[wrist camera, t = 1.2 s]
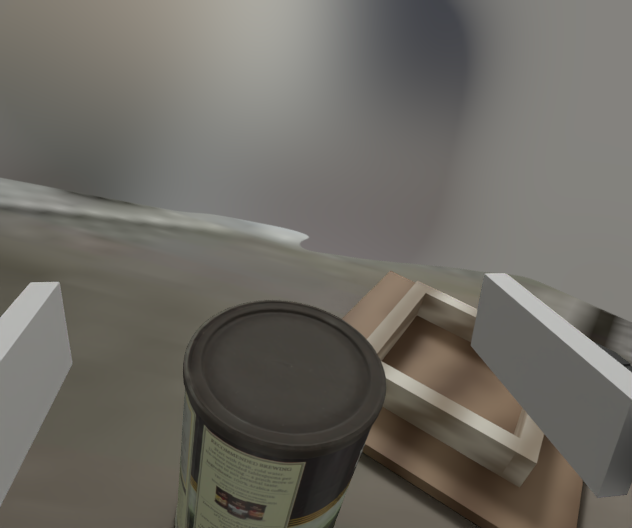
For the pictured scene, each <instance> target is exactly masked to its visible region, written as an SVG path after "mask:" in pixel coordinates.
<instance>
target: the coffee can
mask: <svg viewBox="0 0 632 528" xmlns="http://www.w3.org/2000/svg"><path fill="white" fill-rule="evenodd" d="M183 378H184V385H185V396H184V411H183V428H182V445H181V457H180V475H179V490H178V504H177V509H176V516H175V528H333V527H334V524H335V521H336V518H337V516H338V513H339V510H340V508H341V505H342V502H343V500H344V497H345V494H346V492H347V489H348V486H349V484H350V481H351V478H352V476H353V473H354V471H355V468H356V466H357V463H358V461H359V458H360V456H361V453H362V451H363V448H364V445H365V442H366V440H367V437H368V435H369V432H370V429H371V427H372V425H373V424H374V422H375V421H376V419H377V417H378V415H379V413H380V411H381V409H382V406H383V404H384V400H385V396H386V376H385V371H384V368H383V365H382V363H381V360H380V358H379V357H378V355H377V353H376V351H375V349H374V348H373V346H372V345H371V344H370V343H369V341H368V340H367V339H366V338H365V337H364V336H363V335H362V334H361V333H360V332H359V331H357V330H356V329H355V328H354V327H352V326H351V325H350V324H348V323H347V322H345V321H344V320H342V319H340V318H339V317H337V316H335V315H333V314H331V313H329V312H326V311H324V310H321V309H319V308H316V307H313V306H310V305H306V304H302V303H297V302H288V301H281V300H264V301H254V302H248V303H243V304H239V305H236V306H233V307H230V308H227V309H225V310H223V311H221V312H219V313H217V314H216V315H214V316H212V317H211V318H209V319H208V320H207V321H206V322H205V323H203V324H202V325H201V326H200V327H199V328H198V330H197V331H196V332H195V333H194V335H193V336H192V338H191V340H190V342H189V344H188V346H187V348H186V352H185V356H184V363H183Z"/></svg>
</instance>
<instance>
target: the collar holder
mask: <svg viewBox="0 0 632 528" xmlns="http://www.w3.org/2000/svg"><path fill="white" fill-rule="evenodd" d="M477 310H478V309H476V308H474V307H472V306H470V305H467V304H465V303H463V302H461V301H459V300H457V299H455V298H453V297H451V296H449V295H447V294H444V293H442V292H440V291H438V290H436V289H434V288H432V287H430V286H428V285H426V284H424V283H421V282H419V281H417V282H416V283H415V282H413V281H411V280H409V279H407V278H405V277H403V276H400V275H398V274H396V273H394V272H392V271H390V272H389V273H388V274H387V275H386V276H385V277H384V278H382V279H381V280H380V281H379V282H378V283H377V284H376V285H375V286H374V287H373V288H372V289H371V290H370V291H369V292H368V293H367V294H366V295H365V296H364V297H363V298H362V299H361V300H360V301H359V302H358V303H357V304H356V305H355V306H354V307H353V308H352V309H351V310H350V311H349V312H348V313H347V314H346V315H345V316H344V317H343V318H342V320H344V321H345V322H347V323H348V324H350V325H351V326H352V327H354V328H355V329H356V330H357V331H359V332H360V333H361V334H362V335H363V336H364V337H365V338H366V339H367V340H368V341H369V343H370V344H371V345H372V346H373V348H374V349H375V351H376V353H377V355H378V357H379V358H380V360H381V363H382V365H383V368H384V371H385V376H386V396H385V400H384V404H383V406H382V409H381V411H380V413H379V415H378V417H377V419H376V421H375V422H374V424H373V425H372V427H371V429H370V432H369V435H368V437H367V440H366V442H365V445H364V448H363V451H362V452H363V453H365V454H366V455H368V456H369V457H371V458H372V459H374V460H376V461H377V462H379V463H380V464H382V465H383V466H385V467H387V468H388V469H390V470H391V471H393V472H394V473H396V474H398V475H399V476H401V477H402V478H404V479H405V480H407V481H409V482H410V483H412V484H413V485H415V486H416V487H418V488H420V489H421V490H423V491H424V492H426V493H427V494H429V495H431V496H432V497H434V498H435V499H437V500H438V501H440V502H442V503H443V504H445V505H446V506H448V507H449V508H451V509H453V510H454V511H456V512H457V513H459V514H460V515H462V516H464V517H465V518H467V519H468V520H470V521H471V522H473V523H475V524H476V525H478V526H479V527H481V528H576V527H577V520H578V513H579V506H580V499H581V492H582V485H583V480H582V479H581V477H580V476H579V475H578V474H577V473H576V471H575V470H574V469H573V468H572V467H571V465H570V464H569V463H568V462H567V461H566V459H565V458H564V457H563V456H562V455H561V453H560V452H559V451H558V450H557V449H556V447H555V446H554V445H553V444H552V443H551V441H550V440H549V439H548V438H547V437H546V435H545V434H544V433H543V432H542V431H541V429H540V428H539V427H538V426H537V425H536V423H535V422H534V421H533V420H532V419H531V417H530V416H529V415H528V414H527V413H526V411H525V410H524V409H523V408H522V407H521V405H520V404H519V403H518V402H517V401H516V399H515V398H514V397H513V396H512V395H511V393H510V392H509V391H508V390H507V389H506V387H505V386H504V385H503V384H502V383H501V381H500V380H499V379H498V378H497V377H496V375H495V374H494V373H493V372H492V371H491V369H490V368H489V367H488V366H487V365H486V363H485V362H484V361H483V360H482V359H481V357H480V356H479V355H478V354H477V353H476V351H475V350H474V349H473V348H472V347H471V340H472V335H473V330H474V325H475V320H476V315H477Z"/></svg>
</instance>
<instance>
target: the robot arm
mask: <svg viewBox="0 0 632 528" xmlns="http://www.w3.org/2000/svg"><path fill="white" fill-rule="evenodd" d="M471 347H472V348H473V349H474V350H475V351H476V353H477V354H478V355H479V356H480V357H481V359H482V360H483V361H484V362H485V363H486V365H487V366H488V367H489V368H490V369H491V371H492V372H493V373H494V374H495V375H496V377H497V378H498V379H499V380H500V381H501V383H502V384H503V385H504V386H505V387H506V389H507V390H508V391H509V392H510V393H511V395H512V396H513V397H514V398H515V399H516V401H517V402H518V403H519V404H520V405H521V407H522V408H523V409H524V410H525V411H526V413H527V414H528V415H529V416H530V417H531V419H532V420H533V421H534V422H535V423H536V425H537V426H538V427H539V428H540V429H541V431H542V432H543V433H544V434H545V435H546V437H547V438H548V439H549V440H550V441H551V443H552V444H553V445H554V446H555V447H556V449H557V450H558V451H559V452H560V453H561V455H562V456H563V457H564V458H565V459H566V461H567V462H568V463H569V464H570V465H571V467H572V468H573V469H574V470H575V471H576V473H577V474H578V475H579V476H580V477H581V479H582V480H583V481H584V482H585V483H586V485H587V486H588V487H589V488H590V489H591V491H592V492H593V493H594V494H595V495H596V497H597V498H601V497H611V496H621V495H627V493H628V490H629V488H630V485H631V483H632V366H630V363H628V362H627V361H626V360H625V359H623V358H622V357H621V356H619V355H618V354H617V353H615V352H613V351H611V350H609V349H607V348H605V347H603V346H601V345H599V344H597V343H594V342H593V341H591V340H590V339H589V338H587V337H586V336H585V335H584V334H582V333H581V332H580V331H579V330H577V329H576V328H575V327H574V326H572V325H571V324H570V323H568V322H567V321H566V320H565V319H563V318H562V317H561V316H560V315H558V314H557V313H556V312H554V311H553V310H552V309H551V308H549V307H548V306H547V305H546V304H544V303H543V302H542V301H540V300H539V299H538V298H537V297H535V296H534V295H533V294H532V293H530V292H529V291H528V290H526V289H525V288H524V287H523V286H521V285H520V284H519V283H518V282H516V281H515V280H514V279H513V278H511V277H510V276H509V275H507V274H506V273H492V274H484V279H483V284H482V289H481V294H480V299H479V304H478V310H477V315H476V320H475V325H474V330H473V335H472V340H471ZM71 365H72V358H71V351H70V345H69V339H68V332H67V326H66V320H65V313H64V307H63V301H62V294H61V288H60V282H31V283H30V284H29V285H28V286H27V287H26V288H25V290H24V291H23V292H22V293H21V294H20V295H19V296H18V298H17V299H16V300H15V301H14V302H13V303H12V305H11V306H10V307H9V308H8V309H7V310H6V311H5V313H4V314H3V315H2V316H1V317H0V506H1V504H2V502H3V500H4V498H5V496H6V494H7V492H8V490H9V488H10V486H11V484H12V482H13V480H14V478H15V476H16V474H17V472H18V470H19V468H20V466H21V464H22V462H23V460H24V458H25V456H26V454H27V452H28V451H29V449H30V447H31V445H32V443H33V441H34V439H35V437H36V435H37V433H38V431H39V429H40V427H41V425H42V423H43V421H44V419H45V417H46V415H47V413H48V411H49V409H50V407H51V405H52V403H53V401H54V399H55V397H56V395H57V393H58V391H59V389H60V387H61V385H62V383H63V381H64V379H65V377H66V375H67V373H68V371H69V369H70V367H71Z"/></svg>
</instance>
